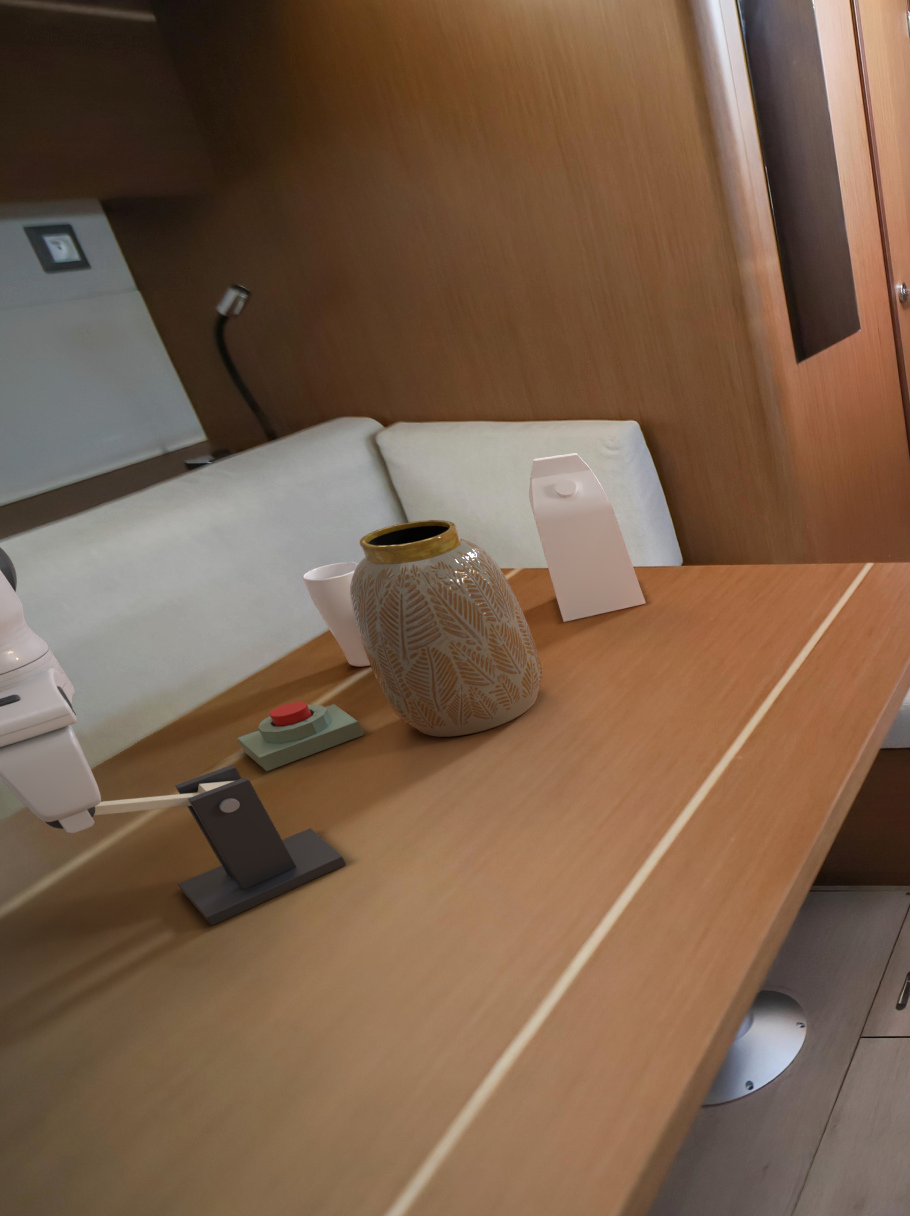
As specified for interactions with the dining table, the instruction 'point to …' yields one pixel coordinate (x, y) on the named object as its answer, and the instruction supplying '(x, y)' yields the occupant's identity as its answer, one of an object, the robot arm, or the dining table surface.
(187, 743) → the dining table surface
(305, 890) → the dining table surface
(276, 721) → the power button
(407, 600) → the vase
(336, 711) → the green button base
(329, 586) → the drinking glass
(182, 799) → the lever switch
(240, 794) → the lever on stand
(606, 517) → the milk
